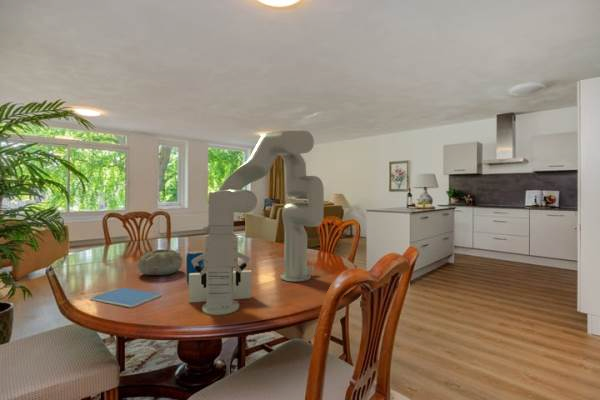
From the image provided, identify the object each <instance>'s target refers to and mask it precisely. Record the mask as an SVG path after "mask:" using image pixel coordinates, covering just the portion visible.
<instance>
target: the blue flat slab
mask: <svg viewBox="0 0 600 400" xmlns="http://www.w3.org/2000/svg"><path fill="white" fill-rule="evenodd" d="M160 297H162V293H159V292H151V291H147V290H139V289H132V288H127V287H120V288H116V289H114V290H110V291H107V292H104V293H101V294H98V295H94V296H92V297H90V298H89V301H92V300H93V301H92V302H97V301H98V302H99V303H103V304H108V303H109V305H114V306H120V307H125V308H129V309H131V308H133V309H134V308H135V307H138V306H141V305H143V304H146V303H148V302H150V301H153V300H156V299H158V298H160ZM98 302H97V303H98Z"/></svg>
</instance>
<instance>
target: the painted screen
mask: <svg viewBox="0 0 600 400" xmlns="http://www.w3.org/2000/svg"><path fill="white" fill-rule="evenodd" d="M206 282H207V271H206ZM242 299H243V300H244V299H252V270H251V269H250V270H249V269H247V270H246V269H243V270H242V272H241V282H239V285H238V286H237V285H236V270H233V300H242ZM200 302H202V303H203V302H207V292H206V288H204V285H201V274H200V273H189V283H188V303H189V304H190V303H200Z"/></svg>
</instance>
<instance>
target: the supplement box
mask: <svg viewBox="0 0 600 400" xmlns="http://www.w3.org/2000/svg"><path fill="white" fill-rule="evenodd" d="M233 271H234V268H231V267H217V268H207V271H206V272H207V282H206V292H207V301H206V303H207V310H221V309H231V307H232V303H233V300H234V299H233Z"/></svg>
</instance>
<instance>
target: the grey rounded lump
mask: <svg viewBox="0 0 600 400" xmlns="http://www.w3.org/2000/svg"><path fill="white" fill-rule="evenodd" d="M136 265H137V266H136V267H137V269H138V270H139V271H140V272H141V273H142V274H144V275H147V276H167V275H169V276H170V275H171V274H174V273H176V272H177V271H179V270H180V268H182V265H183V257H182V256H181V253H180V252H178V251H177V250H176V251H175V250H173V249H170V248H169V249H155V250H151V251H148V252H146V253H145V254H143V255H142V256H141V257H140V258H139V259H138V262H137V264H136Z"/></svg>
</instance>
